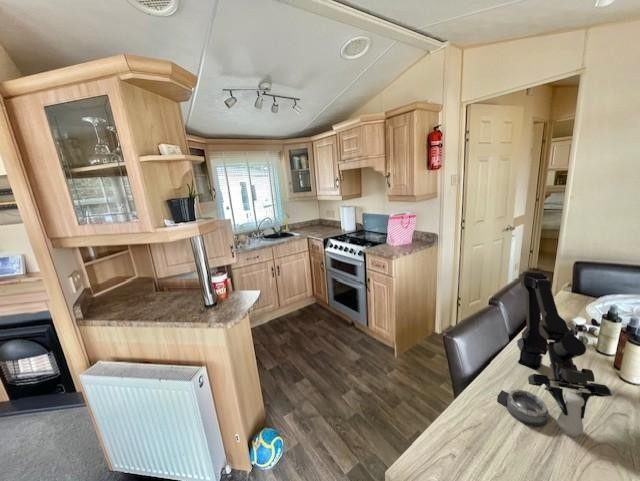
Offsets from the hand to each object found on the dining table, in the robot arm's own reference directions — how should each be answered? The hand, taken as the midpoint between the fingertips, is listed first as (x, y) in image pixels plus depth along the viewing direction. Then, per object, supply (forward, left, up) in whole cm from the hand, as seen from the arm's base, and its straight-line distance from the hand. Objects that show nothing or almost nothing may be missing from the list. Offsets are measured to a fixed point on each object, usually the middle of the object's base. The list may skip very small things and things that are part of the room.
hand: (574, 417), depth 79 cm
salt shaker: (-1, +1, -7) cm, 7 cm away
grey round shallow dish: (-12, 0, -7) cm, 14 cm away
